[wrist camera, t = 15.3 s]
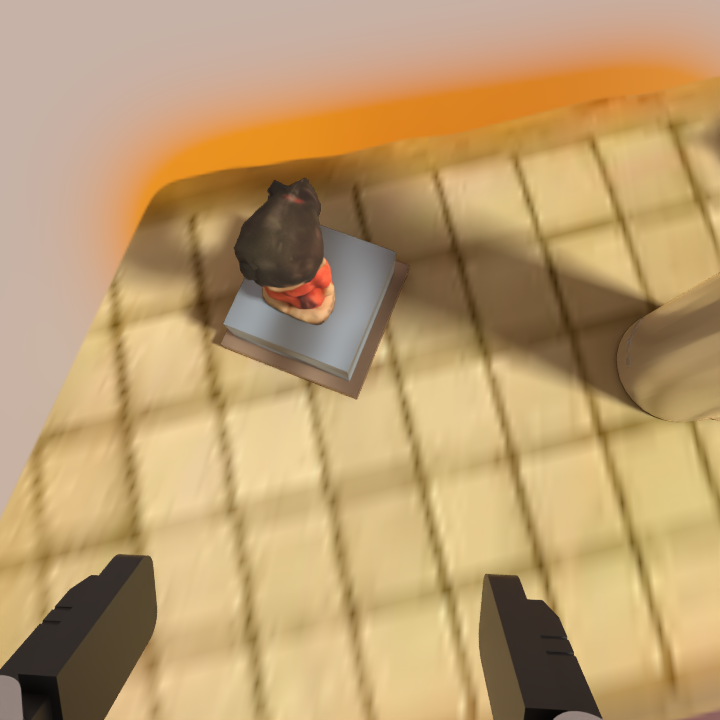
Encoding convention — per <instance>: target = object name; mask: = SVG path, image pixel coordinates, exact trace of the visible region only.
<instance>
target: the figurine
mask: <svg viewBox="0 0 720 720" xmlns="http://www.w3.org/2000/svg"><path fill="white" fill-rule="evenodd" d="M267 191H268V193H269V196H268V201H267V202H266V203H265V204H264V205H263V206H261V207H260V208H259V209H258V210H257V211H256V212H255V213H254V214H253V215H252V216H251V217H250V218H249V219H248V220H247V221H246V222H245V223H244V224H243V226H242V228H241V232H240V235H239V237H238V239H237V243H236V245H235V246H234V251H235V255H236V257H237V259H238V261H239V264H240V271H241V272H242V274H243V275H244V277H245V278H246V279H247V280H254V281H255V283H256V284H258V285H260V286H261V287H262V297H263V299H264V300H265V302H266V303H268V304H269V305H270V306H272V307H274V308H275V309H277V310H279V311H281V312H283V313H285V314H287V315H289V316H291V317H293V318H296V319H298V320H301V321H303V322H306V323H309V324H312V325H321V324H323V323H324V322H325V321H327V320H328V318H329V315H330V314H331V313H332V312H333V310H334V307H335V290H334V285H333V281H332V279H331V278H332V275H331V268H330V266H329V264H328V262H327V260H326V259H325V258H324V243H323V238H322V231H321V228H320V224H319V219H318V216H319V214H320V211H321V204H320V202H319V200H318V197H317V194H316V192H315V190H314V188H313V187H312V186H311V185H310V184H309V180H307V179H306V178H303V179H301V180H300V181H297V182H295V183H293V184H292V185H289V186H287V185H283V184H282V183H280V182H278V181H276V180H274V181H273V183H272V184H271V186H270V187H269V188H268V190H267Z"/></svg>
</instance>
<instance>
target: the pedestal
mask: <svg viewBox="0 0 720 720" xmlns="http://www.w3.org/2000/svg"><path fill="white" fill-rule="evenodd" d="M320 228H321V231H322V238H323V243H324V258H325V259H326V260H327V262H328V264H329V266H330V268H331V275H332V278H331V279H332V281H333V285H334V290H335V307H334V310H333V312H332V313H331V314H330V315H329V318H328V320H327V321H325V322H324V323H323V324H321V325H312V324H309V323H306V322H303V321H301V320H298V319H296V318H293V317H291V316H289V315H287V314H285V313H283V312H281V311H279V310H277V309H275V308H274V307H272V306H270V305H269V304H268V303H266V302H265V300H264V299H263V297H262V287H261V286H260V285H258V284H256V283H255V281H254V280H247V279H246V278H244V280H243V282H242V285H241V287H240V289H239V291H238V293H237V295H236V297H235V300H234V302H233V304H232V306H231V308H230V310H229V312H228V315H227V317H226V319H225V321H224V323H223V324H224V325H225V326H226V327H227V328H228V329H227V332H226V334H225V336H224V338H223V340H222V342H221V345H222V346H223V347H224V348H226V349H229V350H232V351H234V352H237V353H239V354H242V355H244V356H247V357H249V358H252V359H255V360H257V361H260V362H262V363H265V364H267V365H270V366H272V367H275V368H278V369H280V370H283V371H285V372H288V373H290V374H293V375H295V376H298V377H301V378H303V379H306V380H308V381H311V382H313V383H316V384H318V385H321V386H324V387H326V388H329V389H331V390H334V391H336V392H339V393H341V394H344V395H347V396H349V397H352V398H354V399H358V396H359V394H360V391H361V389H362V386H363V384H364V381H365V379H366V376H367V374H368V371H369V369H370V366H371V364H372V361H373V359H374V356H375V354H376V351H377V349H378V346H379V344H380V341H381V339H382V336H383V334H384V331H385V329H386V326H387V324H388V321H389V319H390V316H391V314H392V311H393V309H394V306H395V304H396V301H397V299H398V296H399V294H400V291H401V289H402V286H403V284H404V281H405V279H406V276H407V274H408V271H409V266H410V265H407V264H404V263H401V262H398V261H396V260H395V259H396V252H394V251H392V250H389V249H386V248H383V247H380V246H378V245H375V244H372V243H369V242H366V241H364V240H361V239H358V238H355V237H352V236H350V235H347V234H344V233H341V232H339V231H336V230H333V229H330V228H327V227H325V226H322V225H320Z"/></svg>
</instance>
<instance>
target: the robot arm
mask: <svg viewBox="0 0 720 720" xmlns="http://www.w3.org/2000/svg"><path fill="white" fill-rule="evenodd" d="M617 370H618V373H619V377H620V381H621V383H622V385H623V387H624V389H625V391H626V392H627V393H628V395H629V396H630V397H631V399H632V400H633V401H634V402H635V403H636V404H637V405H638V406H640V407H641V408H642V409H643V410H645V411H646V412H648V413H650V414H651V415H653V416H655V417H658V418H661V419H663V420H666V421H673V422H691V421H697V420H703V419H709V418H712V419H715V420H717V421H720V272H719V273H718V274H716V275H714V276H712V277H711V278H709V279H707V280H706V281H704V282H702V283H700V284H699V285H697V286H695V287H694V288H692V289H690V290H689V291H687V292H685V293H683V294H682V295H680V296H678V297H677V298H675V299H673V300H671V301H670V302H668V303H666V304H665V305H663V306H661V307H659V308H658V309H656V310H654V311H653V312H651V313H649V314H647V315H646V316H644V317H642V318H641V319H639V320H638V321H636V322H635V323H634V324H633V325H631V326H630V327H629V329H628V330H627V331H626V333H625V334H624V335H623V337H622V339H621V342H620V344H619V347H618V352H617ZM156 619H157V602H156V591H155V580H154V569H153V561H152V559H151V557H150V556H144V555H124V554H118V555H116V556H115V557H114V558H113V559H112V560H111V561H110V562H109V564H108V565H107V566H106V567H105V569H104V570H103V571H102V572H101V573H100V575H99V576H98V575H91V576H89V577H88V578H86V579H85V580H83V581H82V582H80V583H79V584H77V585H76V586H74V587H73V588H71V589H70V590H69V591H68V592H67V593H66V594H65V596H64V597H63V598H62V599H61V600H60V601H59V602H58V604H57V605H56V606H55V609H54V610H51V612H50V613H49V614H48V615H47V616H46V617H45V619H44V620H43V623H42V624H39V625H38V627H37V628H36V629H35V630H34V631H33V632H32V633H31V635H30V636H29V637H28V638H27V639H26V640H25V641H24V643H23V644H22V645H21V646H20V647H19V648H18V650H17V651H16V652H15V653H14V654H13V655H12V656H11V658H10V659H9V660H8V661H7V662H6V663H5V664H4V666H3V667H2V668H1V669H0V720H104V719H105V717H106V715H107V714H108V712H109V710H110V708H111V707H112V705H113V703H114V701H115V700H116V698H117V696H118V694H119V693H120V691H121V689H122V687H123V686H124V684H125V682H126V681H127V679H128V677H129V675H130V674H131V672H132V670H133V668H134V667H135V665H136V663H137V661H138V660H139V658H140V656H141V654H142V653H143V651H144V649H145V647H146V646H147V644H148V642H149V640H150V639H151V636H152V634H153V631H154V628H155V624H156ZM479 649H480V657H481V663H482V667H483V672H484V677H485V681H486V686H487V691H488V696H489V700H490V705H491V710H492V715H493V719H494V720H603V718H602V716H601V714H600V712H599V709H598V707H597V705H596V702H595V700H594V698H593V696H592V693H591V691H590V689H589V686H588V684H587V682H586V679H585V677H584V675H583V672H582V670H581V668H580V665H579V663H578V661H577V658H576V656H574V651H573V649H572V647H571V645H570V642H569V640H567V635H566V633H565V631H564V628H563V626H562V624H561V621H560V619H559V617H558V616H557V615H556V614H555V613H554V612H553V611H552V610H551V609H550V608H549V607H548V606H547V604H546V603H545V602H544V601H543V600H529V599H527V598H526V595H525V592H524V590H523V587H522V584H521V582H520V579H519V577H518V576H515V575H496V574H485V576H484V581H483V591H482V602H481V613H480V623H479Z"/></svg>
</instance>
